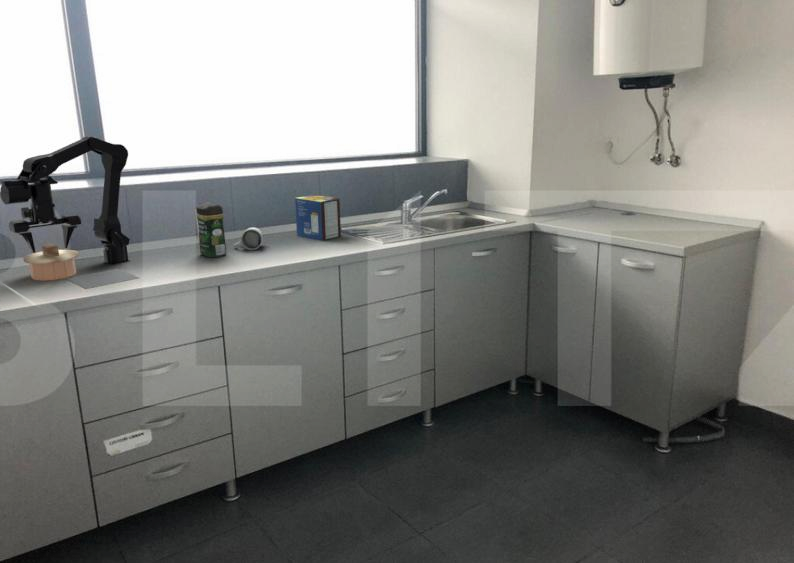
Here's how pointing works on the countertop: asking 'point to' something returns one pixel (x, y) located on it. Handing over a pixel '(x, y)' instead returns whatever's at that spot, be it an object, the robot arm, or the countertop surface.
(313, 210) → the protein box
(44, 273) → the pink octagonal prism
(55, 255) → the lid
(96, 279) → the mat
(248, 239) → the ceramic mug
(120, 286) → the countertop surface
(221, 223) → the coffee jar
